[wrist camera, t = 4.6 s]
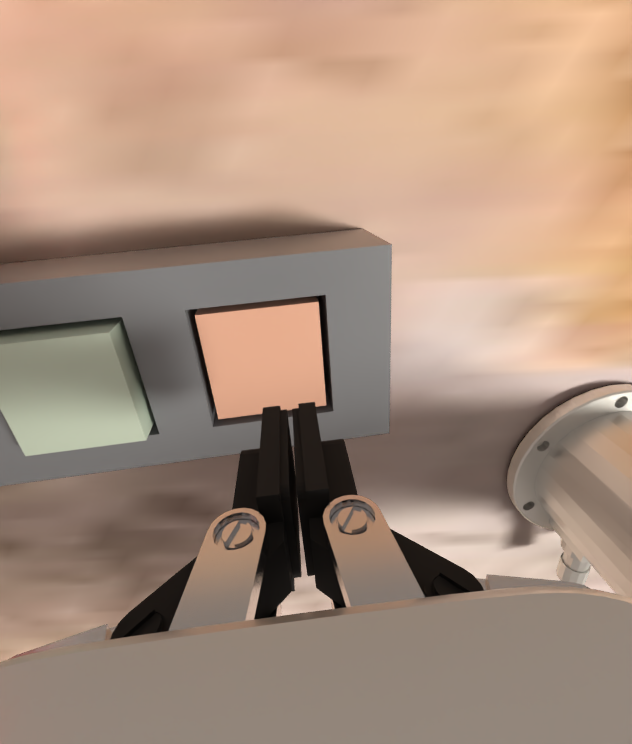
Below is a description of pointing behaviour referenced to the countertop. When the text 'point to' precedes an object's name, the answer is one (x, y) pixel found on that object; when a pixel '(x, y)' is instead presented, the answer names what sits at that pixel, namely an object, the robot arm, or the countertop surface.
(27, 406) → the sage key
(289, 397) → the terracotta key
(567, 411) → the robot arm
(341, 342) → the keypad
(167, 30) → the countertop surface
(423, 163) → the countertop surface
